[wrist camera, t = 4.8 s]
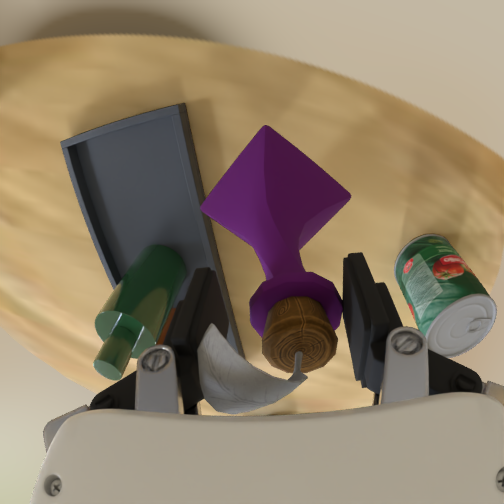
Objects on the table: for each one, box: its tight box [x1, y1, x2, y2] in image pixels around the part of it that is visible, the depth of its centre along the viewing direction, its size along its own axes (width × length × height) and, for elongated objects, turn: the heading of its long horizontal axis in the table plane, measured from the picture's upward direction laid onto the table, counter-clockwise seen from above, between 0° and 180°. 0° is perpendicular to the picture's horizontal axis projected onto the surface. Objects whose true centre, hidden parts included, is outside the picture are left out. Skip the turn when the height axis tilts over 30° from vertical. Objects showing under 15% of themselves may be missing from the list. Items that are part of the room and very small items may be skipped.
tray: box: [60, 103, 245, 359], centre depth 34 cm, size 34×14×2 cm, turn 9°
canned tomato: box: [394, 234, 497, 358], centre depth 27 cm, size 8×8×11 cm
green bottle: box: [93, 245, 187, 380], centre depth 28 cm, size 6×6×15 cm
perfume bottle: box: [197, 125, 351, 414], centre depth 16 cm, size 8×8×18 cm
